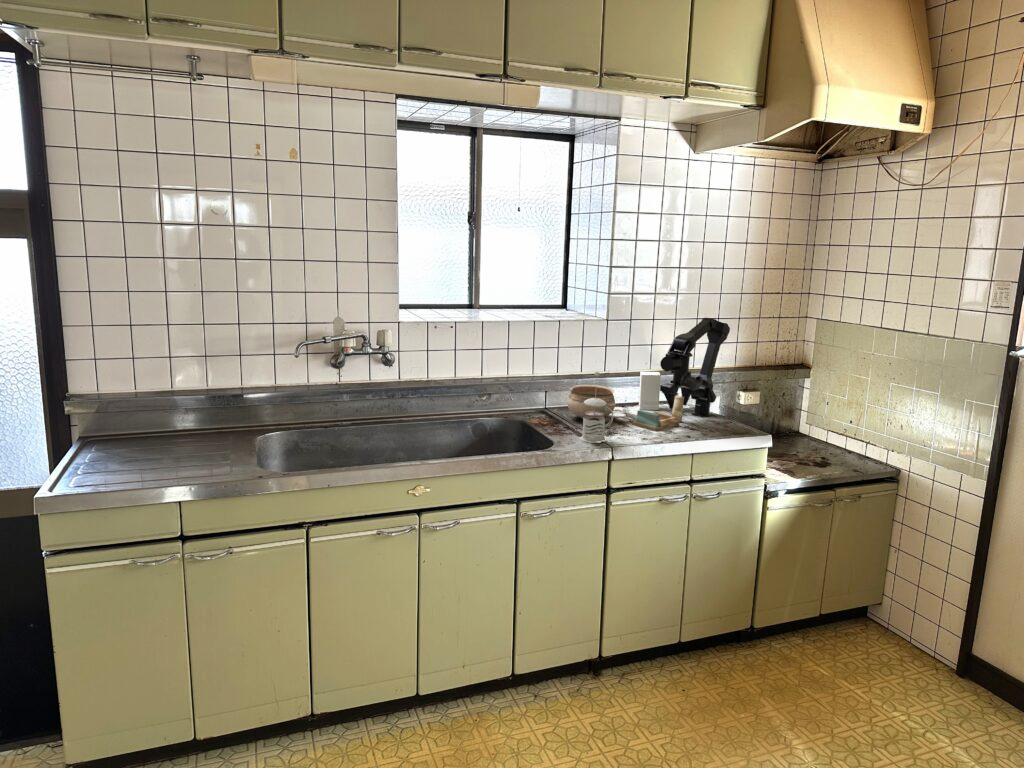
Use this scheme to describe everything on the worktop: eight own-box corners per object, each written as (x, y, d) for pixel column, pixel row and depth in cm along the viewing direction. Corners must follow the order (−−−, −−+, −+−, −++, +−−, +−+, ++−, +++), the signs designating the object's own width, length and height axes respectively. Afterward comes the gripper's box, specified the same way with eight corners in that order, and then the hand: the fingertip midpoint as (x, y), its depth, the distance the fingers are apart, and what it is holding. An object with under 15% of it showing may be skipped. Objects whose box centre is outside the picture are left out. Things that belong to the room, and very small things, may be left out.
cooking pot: (551, 416, 287) (552, 386, 284) (584, 409, 299) (585, 381, 296) (596, 430, 268) (598, 398, 266) (629, 422, 280) (632, 392, 277)
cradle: (656, 418, 287) (657, 405, 286) (679, 424, 279) (680, 410, 278) (632, 424, 277) (633, 410, 276) (655, 431, 269) (656, 416, 268)
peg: (675, 419, 287) (677, 395, 285) (683, 421, 284) (685, 397, 282) (669, 421, 284) (671, 396, 282) (678, 423, 282) (680, 398, 279)
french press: (577, 435, 260) (580, 368, 255) (608, 436, 261) (612, 369, 256) (581, 443, 251) (585, 374, 245) (614, 443, 251) (618, 374, 246)
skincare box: (657, 407, 307) (660, 371, 303) (658, 411, 300) (661, 374, 297) (637, 406, 308) (640, 370, 304) (638, 409, 301) (641, 373, 298)
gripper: (685, 374, 268) (681, 414, 271) (712, 369, 280) (708, 407, 284) (660, 369, 276) (657, 408, 279) (688, 364, 288) (685, 402, 292)
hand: (678, 406), depth 283 cm, fingers open, 9 cm apart
